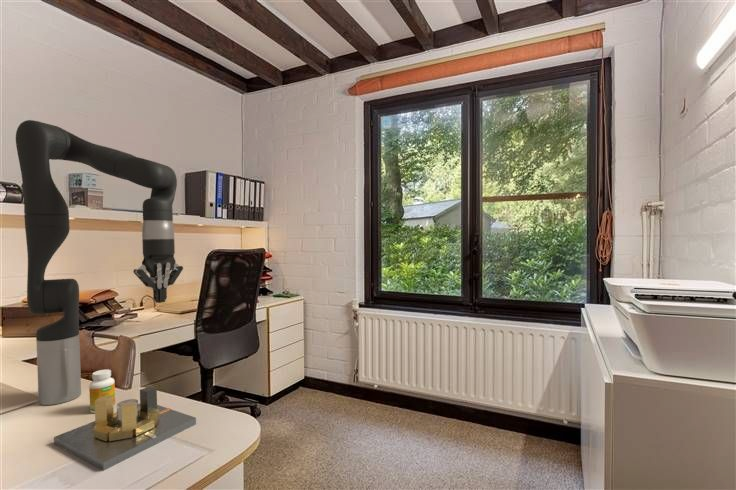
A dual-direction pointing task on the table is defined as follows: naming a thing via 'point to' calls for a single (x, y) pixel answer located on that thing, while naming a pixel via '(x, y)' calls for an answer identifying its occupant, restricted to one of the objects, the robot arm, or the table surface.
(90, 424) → the base plate
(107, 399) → the gold octagonal ring
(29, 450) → the table surface
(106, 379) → the supplement bottle
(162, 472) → the table surface
